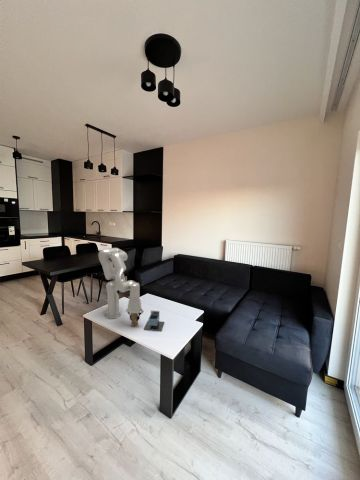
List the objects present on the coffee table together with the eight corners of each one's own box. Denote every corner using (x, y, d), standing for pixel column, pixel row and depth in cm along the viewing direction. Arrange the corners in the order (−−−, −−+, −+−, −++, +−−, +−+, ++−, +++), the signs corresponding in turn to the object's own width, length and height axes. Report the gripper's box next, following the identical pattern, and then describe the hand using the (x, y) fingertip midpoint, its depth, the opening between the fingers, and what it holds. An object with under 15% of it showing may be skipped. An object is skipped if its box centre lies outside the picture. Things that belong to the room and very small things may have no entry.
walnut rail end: (131, 326, 156) (131, 312, 155) (133, 323, 160) (133, 310, 159) (136, 327, 156) (136, 312, 154) (137, 324, 160) (137, 310, 158)
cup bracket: (143, 329, 152) (143, 315, 151) (147, 321, 164) (148, 308, 162) (161, 331, 150) (161, 316, 149) (164, 323, 162) (164, 309, 161)
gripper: (122, 299, 152) (122, 321, 154) (143, 301, 151) (143, 323, 153) (126, 295, 160) (126, 316, 162) (146, 297, 158) (146, 318, 160)
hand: (134, 319), depth 157 cm, fingers open, 4 cm apart
